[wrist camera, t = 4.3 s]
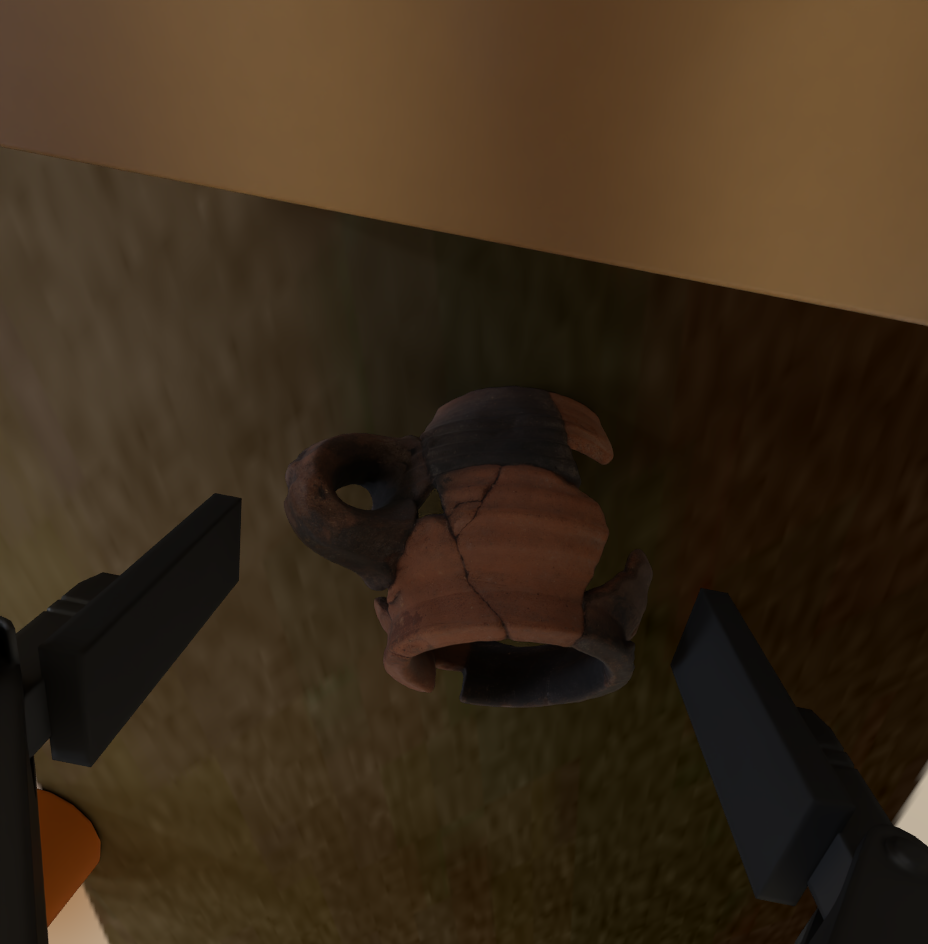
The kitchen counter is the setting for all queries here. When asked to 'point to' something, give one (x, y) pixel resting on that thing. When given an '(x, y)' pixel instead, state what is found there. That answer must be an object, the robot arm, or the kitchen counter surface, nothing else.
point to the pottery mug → (481, 547)
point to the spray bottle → (64, 850)
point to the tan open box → (522, 123)
